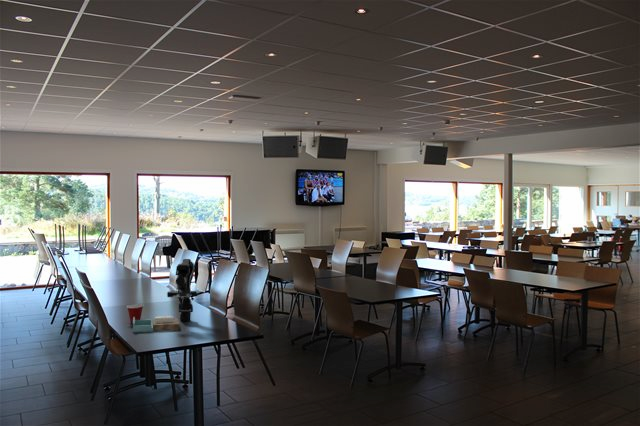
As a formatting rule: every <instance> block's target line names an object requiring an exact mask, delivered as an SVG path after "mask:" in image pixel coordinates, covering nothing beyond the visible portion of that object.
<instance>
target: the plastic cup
mask: <svg viewBox="0 0 640 426" xmlns="http://www.w3.org/2000/svg"><path fill="white" fill-rule="evenodd" d="M144 306H145V305H144V304H141V303H136V304H135V303H134V304H129V305H127V306H126V308H127V310H128V311H127V312H128V317H129V322H130V324H132V325H133V317H135V320H142V319H141V318H142V313H143V308H144Z"/></svg>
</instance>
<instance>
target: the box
mask: <svg viewBox="0 0 640 426" xmlns="http://www.w3.org/2000/svg"><path fill="white" fill-rule="evenodd" d="M152 332H154V331H153V322H152V319H151V318H149V319H140V320H135V317H133V324H132V333H133V334H134V333H152Z"/></svg>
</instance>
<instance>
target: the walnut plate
mask: <svg viewBox="0 0 640 426" xmlns="http://www.w3.org/2000/svg"><path fill="white" fill-rule="evenodd" d="M151 322H153V332H163V331H164V332H167V331H180V320H179V319H178V318H176V317H175V318H173V319H172V322H165V323H155V318H154V319H152V320H151Z"/></svg>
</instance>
